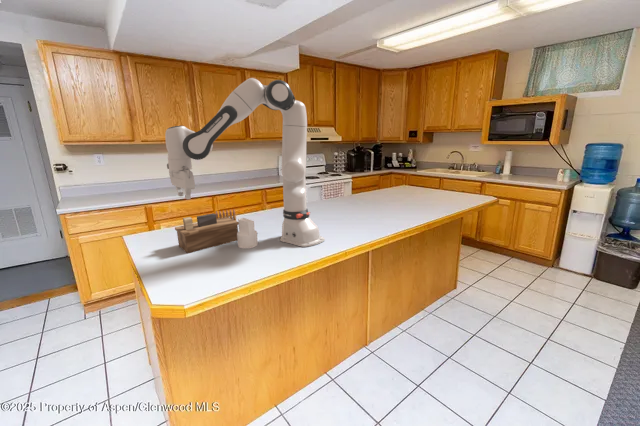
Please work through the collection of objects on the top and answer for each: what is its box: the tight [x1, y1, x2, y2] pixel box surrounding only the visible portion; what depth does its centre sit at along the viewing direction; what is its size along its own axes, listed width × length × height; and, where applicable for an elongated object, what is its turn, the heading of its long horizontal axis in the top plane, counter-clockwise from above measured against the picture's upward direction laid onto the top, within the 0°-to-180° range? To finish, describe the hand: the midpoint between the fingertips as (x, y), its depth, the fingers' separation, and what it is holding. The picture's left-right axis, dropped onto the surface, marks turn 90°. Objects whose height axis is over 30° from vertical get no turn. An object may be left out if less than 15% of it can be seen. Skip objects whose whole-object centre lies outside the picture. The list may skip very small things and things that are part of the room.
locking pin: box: [182, 216, 194, 230], centre depth 132 cm, size 3×3×10 cm
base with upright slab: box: [236, 217, 259, 249], centre depth 135 cm, size 9×9×12 cm
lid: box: [174, 212, 239, 236], centre depth 137 cm, size 13×25×6 cm, turn 132°
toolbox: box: [176, 225, 239, 254], centre depth 138 cm, size 12×24×8 cm, turn 132°
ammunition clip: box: [215, 208, 237, 221], centre depth 155 cm, size 11×2×12 cm, turn 117°
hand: (184, 197), depth 128 cm, fingers open, 8 cm apart
